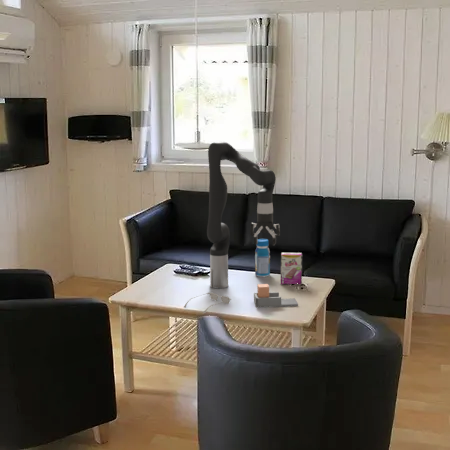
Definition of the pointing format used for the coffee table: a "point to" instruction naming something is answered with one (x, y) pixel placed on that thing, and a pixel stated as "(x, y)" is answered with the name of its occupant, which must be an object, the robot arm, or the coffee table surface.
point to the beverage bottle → (262, 258)
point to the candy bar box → (291, 268)
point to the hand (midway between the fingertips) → (265, 244)
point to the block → (263, 290)
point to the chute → (273, 301)
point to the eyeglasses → (215, 297)
